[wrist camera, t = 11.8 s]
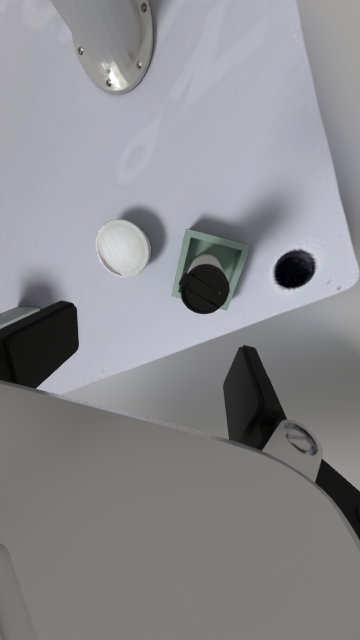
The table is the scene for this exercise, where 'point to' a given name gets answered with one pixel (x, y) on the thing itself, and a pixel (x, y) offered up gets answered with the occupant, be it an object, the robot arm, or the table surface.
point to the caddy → (224, 249)
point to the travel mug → (204, 285)
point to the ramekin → (123, 248)
